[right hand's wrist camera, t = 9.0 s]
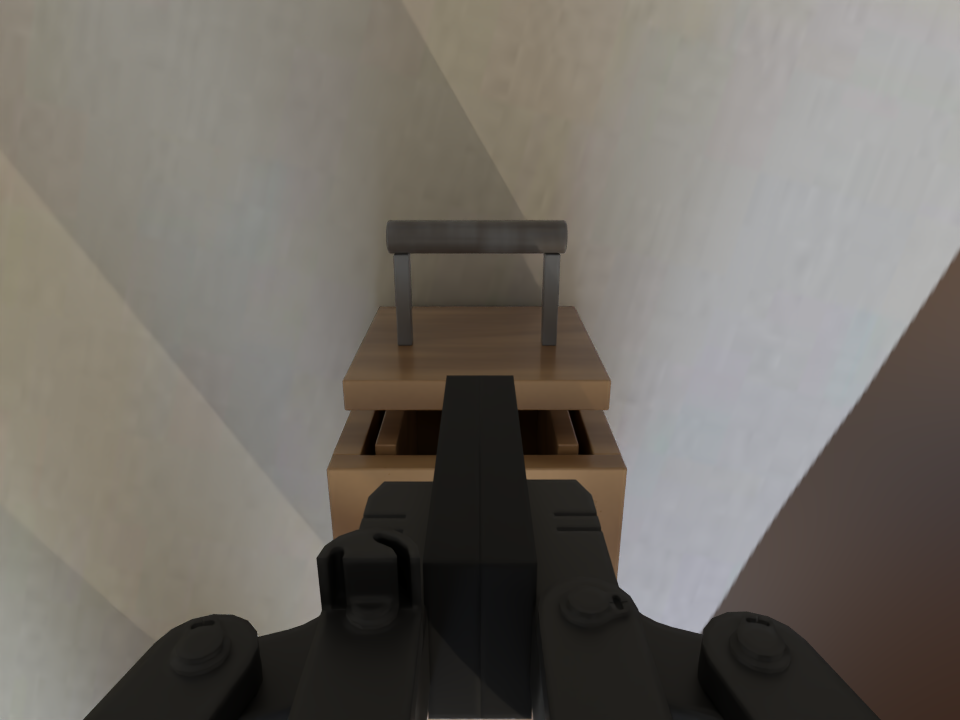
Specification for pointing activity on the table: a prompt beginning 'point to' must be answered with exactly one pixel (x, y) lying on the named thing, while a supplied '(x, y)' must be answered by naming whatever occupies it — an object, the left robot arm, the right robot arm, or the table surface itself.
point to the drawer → (476, 344)
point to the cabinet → (364, 471)
